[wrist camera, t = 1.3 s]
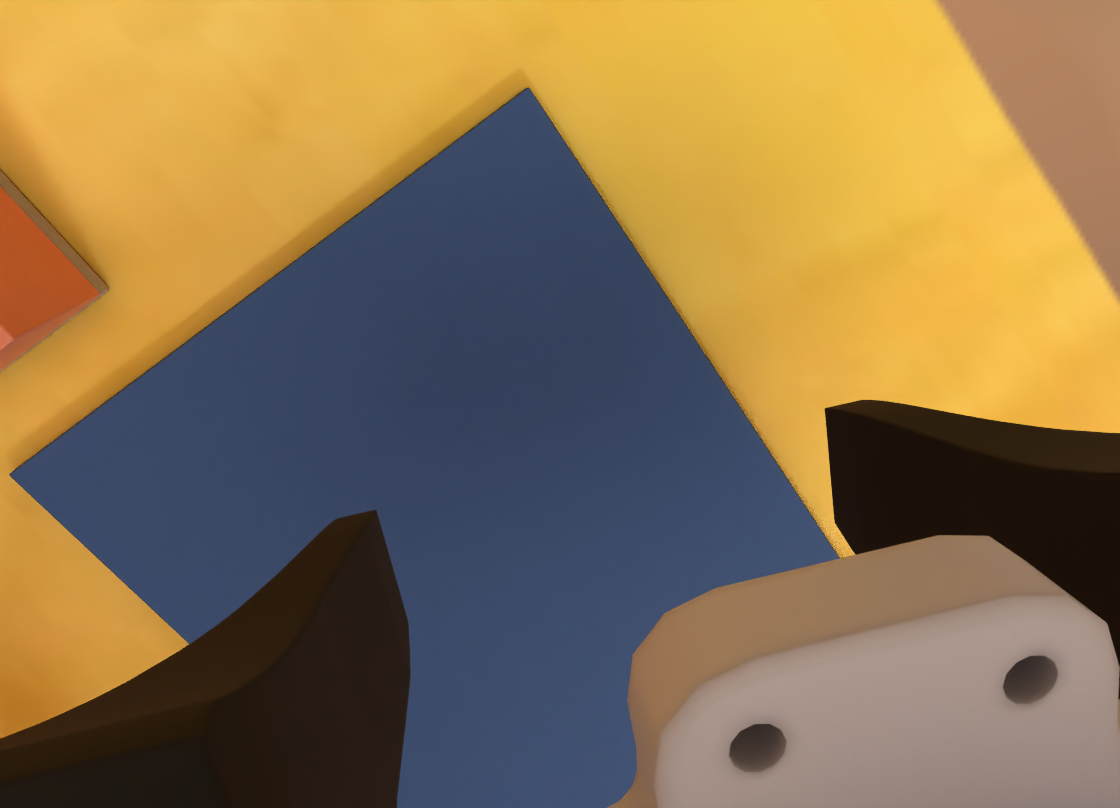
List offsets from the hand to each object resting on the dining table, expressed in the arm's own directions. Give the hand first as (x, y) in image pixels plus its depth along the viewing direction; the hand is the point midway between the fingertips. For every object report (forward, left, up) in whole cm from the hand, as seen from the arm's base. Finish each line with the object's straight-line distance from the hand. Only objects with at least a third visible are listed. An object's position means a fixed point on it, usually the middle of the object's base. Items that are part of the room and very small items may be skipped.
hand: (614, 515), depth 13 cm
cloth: (-5, -4, -10) cm, 12 cm away
